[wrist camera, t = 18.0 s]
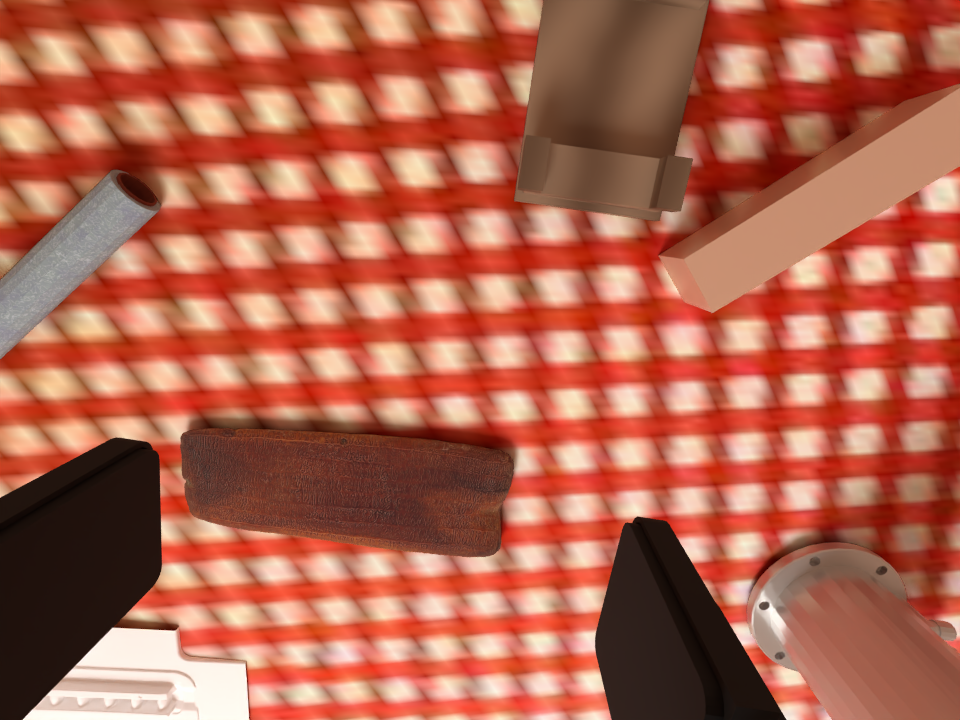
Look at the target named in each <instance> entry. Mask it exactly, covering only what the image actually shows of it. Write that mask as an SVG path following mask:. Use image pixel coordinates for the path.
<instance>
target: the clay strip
mask: <svg viewBox="0 0 960 720" xmlns="http://www.w3.org/2000/svg"><path fill="white" fill-rule="evenodd" d="M959 166H960V84H957V85H954V86H951V87H948V88H944V89H941V90H938V91H935V92H932V93H928V94H925V95H922V96H919V97H916V98H912V99H909V100H906V101H903V102H902V103H900V104H899V105H897V106H896V107H894V108H892V109H891V110H889V111H888V112H886V113H884V114H883V115H881V116H880V117H878V118H876V119H875V120H873V121H872V122H870V123H868V124H867V125H865V126H864V127H862V128H860V129H859V130H857V131H856V132H854V133H853V134H851V135H849V136H848V137H846V138H845V139H843V140H841V141H840V142H838V143H837V144H835V145H833V146H832V147H830V148H829V149H827V150H825V151H824V152H822V153H821V154H819V155H817V156H816V157H814V158H813V159H811V160H809V161H808V162H806V163H805V164H803V165H802V166H800V167H798V168H797V169H795V170H794V171H792V172H790V173H789V174H787V175H786V176H784V177H782V178H781V179H779V180H778V181H776V182H774V183H773V184H771V185H770V186H768V187H766V188H765V189H763V190H762V191H760V192H758V193H757V194H755V195H754V196H752V197H751V198H749V199H747V200H746V201H744V202H743V203H741V204H739V205H738V206H736V207H735V208H733V209H731V210H730V211H728V212H727V213H725V214H723V215H722V216H720V217H719V218H717V219H715V220H714V221H712V222H711V223H709V224H707V225H706V226H704V227H703V228H701V229H700V230H698V231H696V232H695V233H693V234H692V235H690V236H688V237H687V238H685V239H684V240H682V241H680V242H679V243H677V244H676V245H674V246H672V247H671V248H669V249H668V250H666V251H664V252H663V253H661V254H660V255H658V256H659V258H660V259H661V261H662V263H663V265H664V267H665V268H666V270H667V272H668V274H669V276H670V277H671V279H672V281H673V283H674V285H675V286H676V288H677V290H678V292H679V294H680V295H681V297H682V299H683V301H684V302H685V303H688V304H691V305H693V306H696V307H699V308H701V309H704V310H707V311H709V312H712V313H713V312H715V311H717V310H718V309H720V308H722V307H723V306H725V305H727V304H728V303H730V302H732V301H733V300H735V299H737V298H738V297H740V296H742V295H744V294H745V293H747V292H749V291H750V290H752V289H754V288H755V287H757V286H759V285H760V284H762V283H764V282H765V281H767V280H769V279H770V278H772V277H774V276H775V275H777V274H779V273H781V272H782V271H784V270H786V269H787V268H789V267H791V266H792V265H794V264H796V263H797V262H799V261H801V260H802V259H804V258H806V257H807V256H809V255H811V254H813V253H814V252H816V251H818V250H819V249H821V248H823V247H824V246H826V245H828V244H829V243H831V242H833V241H834V240H836V239H838V238H839V237H841V236H843V235H845V234H846V233H848V232H850V231H851V230H853V229H855V228H856V227H858V226H860V225H861V224H863V223H865V222H866V221H868V220H870V219H871V218H873V217H875V216H876V215H878V214H880V213H882V212H883V211H885V210H887V209H888V208H890V207H892V206H893V205H895V204H897V203H898V202H900V201H902V200H903V199H905V198H907V197H908V196H910V195H912V194H914V193H915V192H917V191H919V190H920V189H922V188H924V187H925V186H927V185H929V184H930V183H932V182H934V181H935V180H937V179H939V178H940V177H942V176H944V175H946V174H947V173H949V172H951V171H952V170H954V169H956V168H957V167H959Z"/></svg>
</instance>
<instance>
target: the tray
mask: <svg viewBox="0 0 960 720" xmlns="http://www.w3.org/2000/svg"><path fill="white" fill-rule="evenodd" d="M245 665H246V661H238V660H226V659H214V658H202V657H191V656H188V655H186V654H185V653H184V652H183V651H182V649H181V641H180V632H179V627H178V628H177V629H176V630H175V631H170V630H169V631H168V630H149V629H128V628H112V629H111V630H110V631H109V632H108V633H107V634H106V635H105V636H104V637H103V638H102V639H101V640H100V641H99V642H98V643H97V644H96V645H95V646H94V647H93V648H92V649H91V650H90V651H89V652H88V653H87V654H86V655H85V656H84V657H83V658H82V660H81V661H80V662H79V663H78V664H77V665H76V666H75V667H74V668H73V669H72V670H71V671H70V672H69V673H68V674H67V675H66V676H65V677H64V678H63V679H62V680H61V681H60V682H59V683H58V684H57V685H56V686H55V687H54V688H53V689H52V690H51V691H50V692H49V693H48V694H47V695H46V696H45V697H44V698H43V699H42V700H41V701H40V702H39V703H38V704H37V706H36V707H35V708H34V709H33V710H32V711H31V712H30V713H29V714H28V715H27V716H26V717H25V718H24V719H23V720H249V710H248V693H247V677H246V666H245Z"/></svg>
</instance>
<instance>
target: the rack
mask: <svg viewBox="0 0 960 720" xmlns="http://www.w3.org/2000/svg"><path fill="white" fill-rule="evenodd" d="M708 3H709V0H543V7H542V14H541V20H540V27H539V34H538V41H537V48H536V54H535V61H534V68H533V75H532V82H531V88H530V95H529V102H528V109H527V116H526V122H525V129H524V136H523V143H522V149H521V156H520V163H519V170H518V177H517V183H516V190H515V197H514V201H518V202H525V203H532V204H539V205H546V206H553V207H560V208H567V209H574V210H581V211H589V212H596V213H603V214H610V215H617V216H624V217H631V218H638V219H645V220H652V221H660V217H661V213H662V211H668V212H677V211H681V208H682V204H683V199H684V195H685V191H686V187H687V182H688V178H689V174H690V170H691V165H692V161H693V159H692V158H685V157H678V156H674V155H675V150H676V146H677V141H678V137H679V132H680V128H681V124H682V119H683V115H684V110H685V106H686V101H687V97H688V92H689V88H690V84H691V79H692V75H693V70H694V66H695V61H696V57H697V52H698V48H699V43H700V39H701V35H702V30H703V26H704V21H705V17H706V12H707V8H708Z"/></svg>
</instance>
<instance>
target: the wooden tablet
mask: <svg viewBox="0 0 960 720" xmlns="http://www.w3.org/2000/svg"><path fill="white" fill-rule="evenodd" d="M180 448H181V454H182V476H183V478H184V479H185V480H186V483H185V497H186V500H187V503H188V506H189V510H190V512H191V514H192V515H193V516H194V517H197V518H199V519H202V520H205V521H207V522H211V523H215V524H219V525H223V526H227V527H233V528H237V529H244V530H250V531H260V532H268V533H278V534H285V535H293V536H299V537H307V538H312V539H321V540H328V541H334V542H339V543H349V544H355V545H362V546H368V547H376V548H383V549H391V550H401V551H408V552H422V553H430V554H438V555H450V556H462V557H486V556H491V555H494V554H495V553H496V552H497V551H499V549H500V546H501V522H500V521H501V518H500V511H501V505H502V503H503V501H504V500H505V498H506V496H507V494H508V491H509V489H510V486H511V481H512V476H513V469H514V463H513V460H512V459H511V457H510V456H509V455H508V454H507V453H505V452H503V451H498V450H494V449H489V448H483V447H478V446H473V445H467V444H460V443H451V442H444V441H439V440H428V439H420V438H409V437H394V436H382V435H370V434H346V433H331V432H312V431H290V430H270V429H245V428H239V429H236V430H234V429H231V428H207V429H197V430H191V431H187V432H185V433H183V434H182V436H181V445H180Z"/></svg>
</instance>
